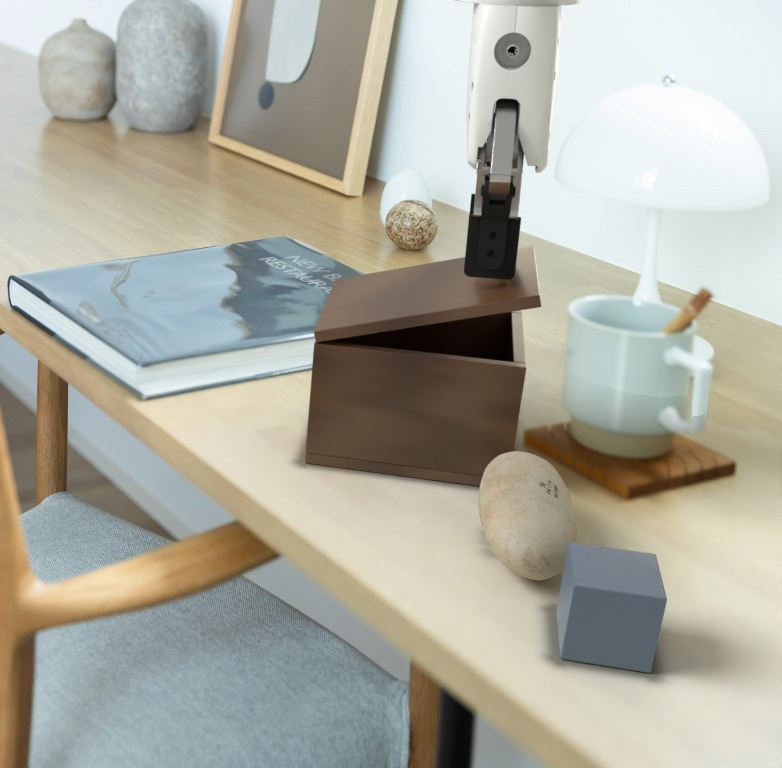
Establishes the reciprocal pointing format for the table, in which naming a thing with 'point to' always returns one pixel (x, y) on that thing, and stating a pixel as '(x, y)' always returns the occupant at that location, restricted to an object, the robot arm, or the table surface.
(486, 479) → the stone
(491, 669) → the table surface
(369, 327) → the lid
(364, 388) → the keepsake box
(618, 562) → the block
